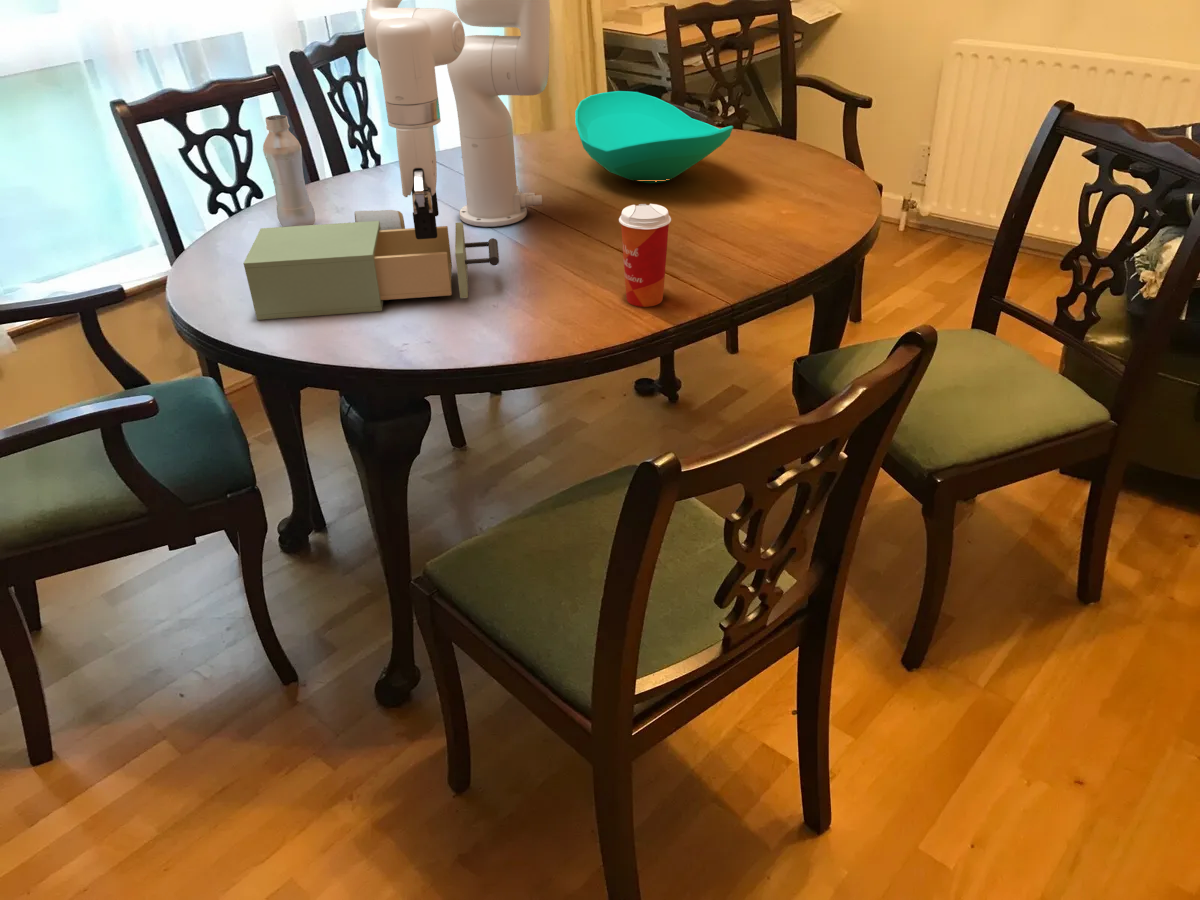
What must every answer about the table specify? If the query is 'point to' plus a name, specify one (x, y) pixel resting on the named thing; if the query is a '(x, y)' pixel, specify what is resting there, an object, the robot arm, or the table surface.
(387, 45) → the robot arm
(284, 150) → the plastic bottle
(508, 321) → the table surface
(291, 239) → the cabinet
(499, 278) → the table surface
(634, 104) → the table top decor
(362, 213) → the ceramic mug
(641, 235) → the paper cup
